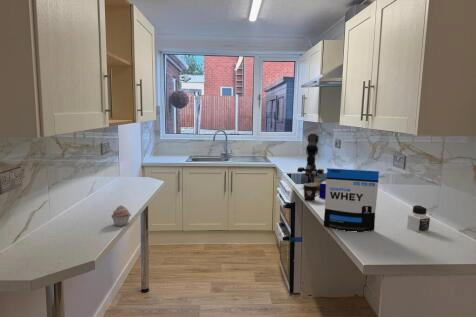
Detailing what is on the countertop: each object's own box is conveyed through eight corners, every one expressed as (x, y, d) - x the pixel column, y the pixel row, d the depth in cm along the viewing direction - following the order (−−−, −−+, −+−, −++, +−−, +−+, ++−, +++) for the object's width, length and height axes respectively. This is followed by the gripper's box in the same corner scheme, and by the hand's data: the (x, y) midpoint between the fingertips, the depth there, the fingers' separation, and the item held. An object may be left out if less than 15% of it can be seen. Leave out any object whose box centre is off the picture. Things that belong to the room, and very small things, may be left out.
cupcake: (124, 228, 167) (123, 208, 165) (107, 226, 169) (106, 206, 168) (134, 222, 176) (134, 203, 174) (118, 220, 178) (118, 201, 177)
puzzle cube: (319, 198, 230) (319, 183, 229) (322, 194, 239) (323, 180, 237) (334, 200, 226) (335, 185, 224) (337, 196, 234) (338, 182, 233)
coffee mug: (300, 199, 225) (300, 184, 223) (307, 197, 231) (308, 182, 229) (316, 203, 217) (316, 187, 215) (322, 200, 223) (323, 185, 221)
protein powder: (323, 223, 181) (326, 166, 176) (372, 227, 175) (377, 169, 171) (323, 229, 172) (327, 169, 167) (375, 234, 166) (380, 173, 162)
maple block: (314, 183, 259) (315, 178, 259) (320, 184, 258) (320, 178, 257) (313, 184, 256) (314, 179, 255) (319, 185, 254) (319, 179, 254)
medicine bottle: (418, 232, 170) (421, 209, 168) (406, 227, 176) (408, 205, 174) (428, 230, 172) (431, 207, 171) (416, 226, 179) (418, 203, 177)
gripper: (296, 161, 252) (295, 182, 255) (322, 164, 245) (320, 185, 248) (299, 159, 262) (298, 179, 265) (324, 161, 255) (323, 182, 258)
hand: (310, 181), depth 259 cm, fingers closed
